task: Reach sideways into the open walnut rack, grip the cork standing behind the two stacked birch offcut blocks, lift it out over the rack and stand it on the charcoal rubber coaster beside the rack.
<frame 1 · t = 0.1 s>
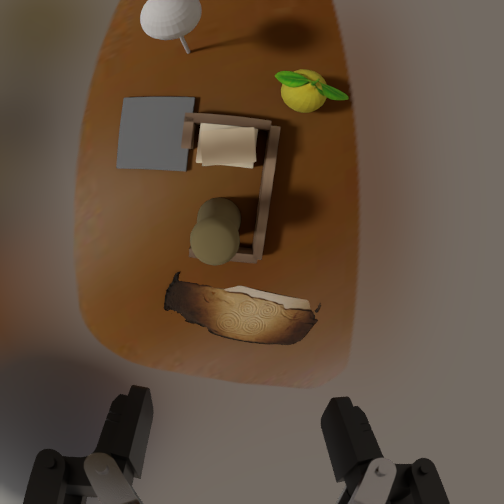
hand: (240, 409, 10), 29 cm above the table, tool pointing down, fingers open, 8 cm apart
offcut lower: (227, 145, 34), on the table
parchment: (243, 312, 43), on the table
cork: (219, 218, 37), on the table
lollipop: (188, 52, 29), on the table
offcut upper: (228, 146, 31), point 3 cm above the table
pad: (154, 132, 32), on the table
rack: (223, 181, 35), on the table
lemon: (298, 96, 32), on the table
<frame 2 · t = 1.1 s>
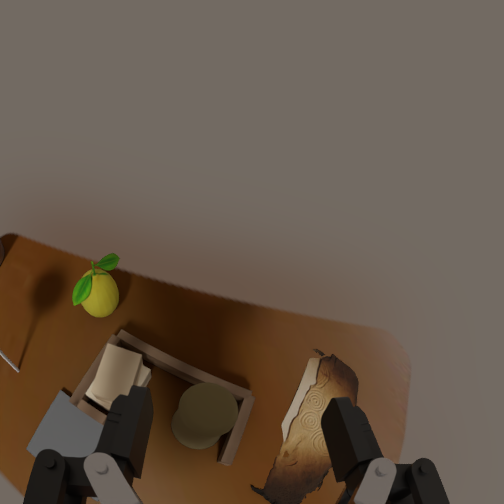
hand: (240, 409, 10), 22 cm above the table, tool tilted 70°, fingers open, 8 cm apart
offcut lower: (121, 389, 27), on the table, touching offcut upper
parchment: (315, 428, 30), on the table
cork: (196, 426, 27), on the table
lollipop: (18, 371, 22), on the table
offcut upper: (120, 381, 25), point 3 cm above the table, touching offcut lower
pad: (76, 446, 19), on the table
rack: (156, 407, 27), on the table
lemon: (103, 309, 34), on the table
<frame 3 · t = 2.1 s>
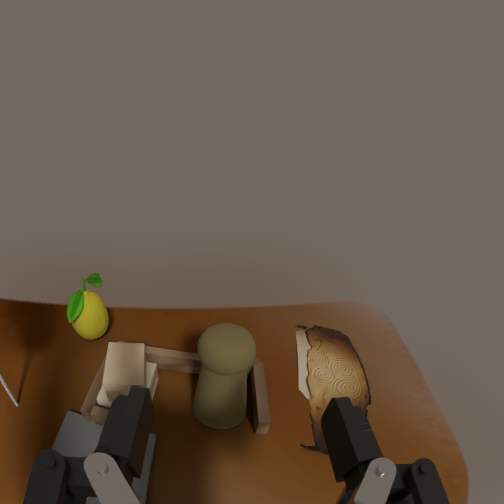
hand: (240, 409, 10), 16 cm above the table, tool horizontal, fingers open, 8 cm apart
offcut lower: (131, 397, 25), on the table, touching offcut upper
parchment: (331, 381, 33), on the table
cork: (219, 408, 27), on the table
lollipop: (18, 405, 18), on the table
offcut upper: (128, 381, 24), point 3 cm above the table, touching offcut lower
pad: (98, 464, 16), on the table
rack: (172, 402, 26), on the table
lemon: (94, 338, 32), on the table
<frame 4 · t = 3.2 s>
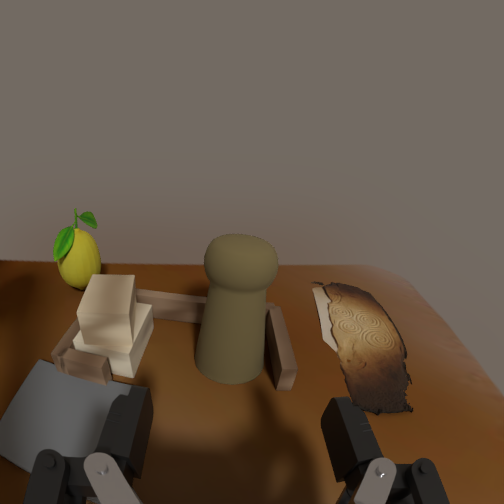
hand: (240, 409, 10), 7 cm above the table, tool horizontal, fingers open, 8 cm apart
offcut lower: (119, 348, 22), on the table, touching offcut upper
parchment: (358, 335, 29), on the table
cork: (229, 361, 23), on the table
offcut upper: (112, 322, 20), point 3 cm above the table, touching offcut lower
pad: (66, 426, 12), on the table
rack: (170, 353, 22), on the table
lemon: (83, 290, 29), on the table
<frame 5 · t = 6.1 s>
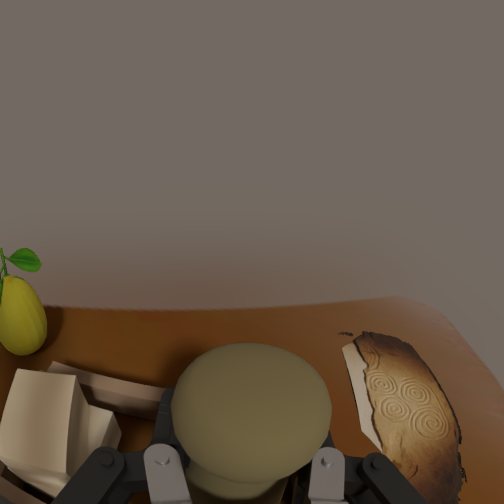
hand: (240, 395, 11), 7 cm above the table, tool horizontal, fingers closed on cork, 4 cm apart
offcut lower: (76, 463, 10), on the table
parchment: (404, 416, 17), on the table
cork: (229, 492, 11), on the table, touching gripper
offcut upper: (56, 443, 9), point 3 cm above the table
rack: (141, 480, 10), on the table
lemon: (31, 352, 17), on the table
when the fingers open (8 cm above the table, at t = 10.8 s): cork stays where it is, point 1 cm above the table.
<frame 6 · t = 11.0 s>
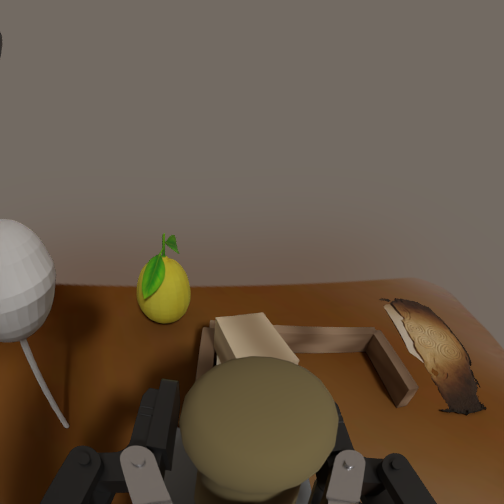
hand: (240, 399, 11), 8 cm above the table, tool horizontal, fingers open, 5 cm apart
parchment: (432, 348, 28), on the table
cork: (245, 497, 11), point 1 cm above the table, touching gripper
lollipop: (67, 427, 13), on the table
offcut upper: (249, 367, 20), point 3 cm above the table, touching offcut lower
pad: (229, 495, 11), on the table
rack: (298, 389, 21), on the table
lemon: (164, 323, 28), on the table
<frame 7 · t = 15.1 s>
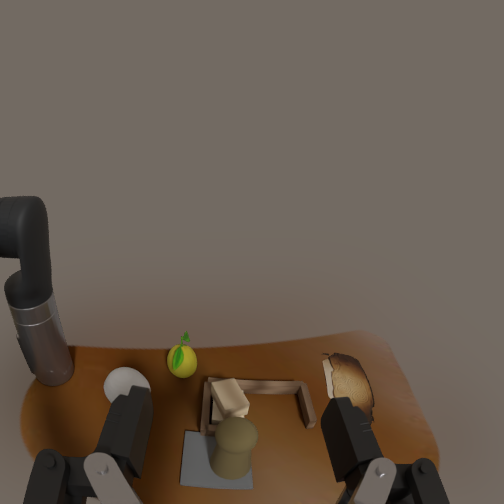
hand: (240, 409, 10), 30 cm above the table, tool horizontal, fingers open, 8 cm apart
offcut lower: (227, 414, 41), on the table, touching offcut upper
parchment: (348, 392, 48), on the table
cork: (230, 463, 31), resting on pad
lollipop: (141, 435, 33), on the table
offcut upper: (228, 403, 40), point 3 cm above the table, touching offcut lower
pad: (216, 461, 31), on the table
rack: (252, 414, 41), on the table
lemon: (182, 375, 48), on the table
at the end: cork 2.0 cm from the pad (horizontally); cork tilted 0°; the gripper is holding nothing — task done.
